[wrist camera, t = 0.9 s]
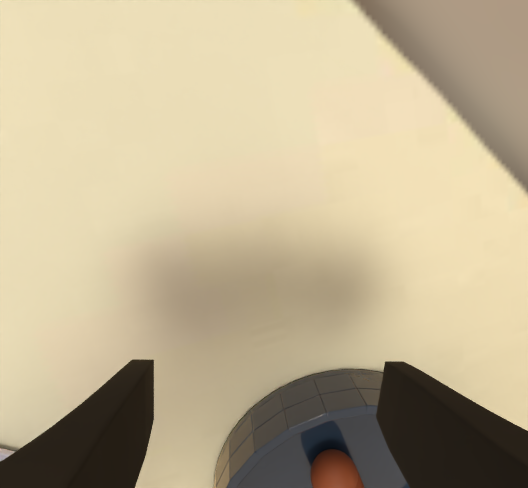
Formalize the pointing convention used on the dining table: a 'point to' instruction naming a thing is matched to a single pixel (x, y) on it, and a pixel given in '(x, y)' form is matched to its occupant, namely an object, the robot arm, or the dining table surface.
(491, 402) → the dining table surface
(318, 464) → the sausage
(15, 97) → the dining table surface
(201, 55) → the dining table surface
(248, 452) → the bowl
